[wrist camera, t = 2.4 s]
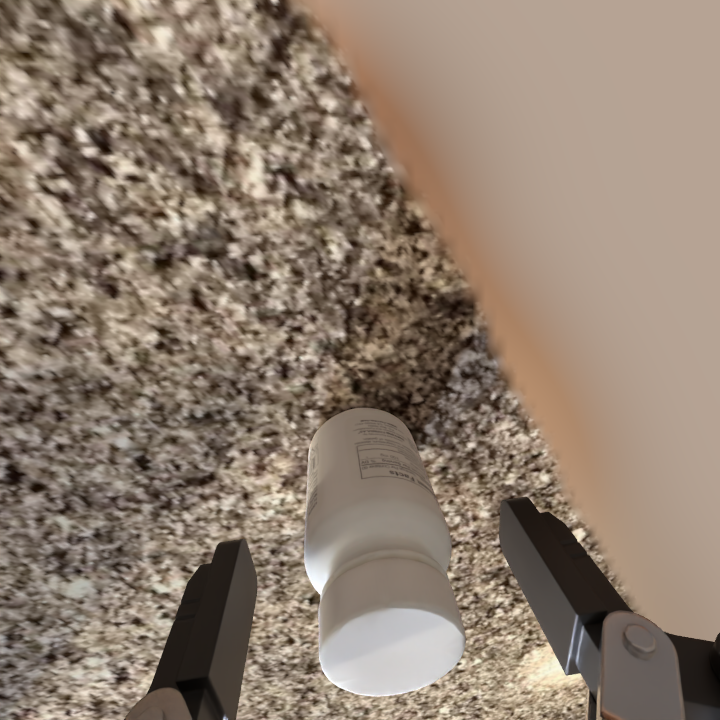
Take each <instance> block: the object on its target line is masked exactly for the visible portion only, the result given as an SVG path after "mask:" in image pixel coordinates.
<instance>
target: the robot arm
mask: <svg viewBox="0 0 720 720" xmlns="http://www.w3.org/2000/svg"><path fill="white" fill-rule="evenodd" d="M499 540H500V545H501V548H502V551H503V554H504V556H505V558H506V560H507V562H508V564H509V566H510V568H511V570H512V572H513V574H514V576H515V578H516V580H517V582H518V584H519V585H520V587H521V589H522V591H523V593H524V595H525V597H526V599H527V601H528V603H529V605H530V607H531V609H532V610H533V612H534V614H535V616H536V618H537V620H538V622H539V624H540V626H541V628H542V630H543V632H544V634H545V636H546V637H547V639H548V641H549V643H550V645H551V647H552V649H553V651H554V653H555V655H556V657H557V659H558V661H559V663H560V664H561V666H562V668H563V670H564V672H565V674H566V675H572V674H578V673H581V675H582V677H583V678H584V680H585V682H586V684H587V686H588V691H587V705H586V720H720V633H719V634H718V635H717V638H716V640H715V642H711V641H706V640H700V639H694V638H688V637H682V636H677V635H673V634H669V633H666V632H663V631H662V630H661V629H660V628H659V627H658V626H657V625H656V624H654V623H653V622H652V621H650V620H648V619H647V618H645V617H643V616H641V615H639V614H636V613H634V612H633V611H632V610H631V609H630V608H629V607H628V606H627V605H626V603H625V602H624V601H623V599H622V598H621V597H620V595H619V594H618V593H617V591H616V590H615V589H614V588H613V586H612V585H611V584H610V582H609V581H608V580H607V578H606V577H605V576H604V574H603V573H602V572H601V570H600V569H599V568H598V567H597V565H596V564H595V563H594V561H593V560H592V559H591V557H590V556H588V555H587V552H586V551H585V549H584V548H583V547H582V546H581V544H580V543H578V542H577V539H576V538H575V536H574V535H573V534H572V532H571V531H570V530H569V528H568V527H567V526H566V525H565V524H564V523H563V522H562V521H560V520H559V519H558V518H556V517H555V516H554V515H552V514H551V513H549V512H544V513H539V512H538V510H537V509H536V507H535V506H534V504H533V503H532V502H531V500H530V499H529V498H527V497H520V498H514V499H507V500H502V502H501V508H500V527H499ZM256 596H257V575H256V571H255V567H254V564H253V561H252V558H251V554H250V551H249V548H248V545H247V542H246V540H245V539H240V540H233V541H227V542H220V543H219V544H218V545H217V547H216V550H215V553H214V557H213V560H212V563H210V564H203V565H200V567H199V568H198V569H197V571H196V572H195V573H194V575H193V576H192V577H191V579H190V580H189V581H188V583H187V586H186V589H185V592H184V595H183V597H182V600H181V605H180V606H179V609H178V611H177V614H176V617H175V618H176V620H175V621H174V623H173V625H172V628H171V631H170V634H169V637H168V639H167V642H166V645H165V648H164V651H163V653H162V656H161V659H160V662H159V665H158V667H157V670H156V673H155V676H154V679H153V681H152V684H151V686H150V689H149V691H148V693H147V694H146V696H145V697H143V698H142V699H141V700H140V701H139V702H138V703H136V705H135V706H134V707H133V708H132V709H131V710H130V712H129V713H128V714H127V715H126V717H125V719H124V720H236V715H237V709H238V703H239V697H240V691H241V685H242V679H243V674H244V668H245V662H246V656H247V650H248V644H249V638H250V632H251V626H252V620H253V614H254V608H255V602H256Z"/></svg>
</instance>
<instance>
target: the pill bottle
mask: <svg viewBox="0 0 720 720" xmlns="http://www.w3.org/2000/svg"><path fill="white" fill-rule="evenodd" d="M451 550H452V546H451V537H450V533H449V530H448V526H447V523H446V521H445V518H444V515H443V513H442V511H441V508H440V506H439V503H438V501H437V499H436V496H435V494H434V491H433V489H432V486H431V483H430V481H429V478H428V476H427V473H426V470H425V468H424V465H423V462H422V460H421V457H420V455H419V452H418V450H417V447H416V444H415V442H414V440H413V437H412V435H411V433H410V431H409V430H408V428H407V427H406V426H405V424H404V423H403V422H402V421H401V420H399V419H398V418H397V417H395V416H394V415H392V414H390V413H388V412H385V411H382V410H379V409H374V408H354V409H350V410H347V411H344V412H341V413H339V414H337V415H335V416H333V417H332V418H330V419H329V420H328V421H326V422H325V423H324V424H323V425H322V426H321V427H320V428H319V429H318V430H317V432H316V433H315V435H314V437H313V439H312V442H311V445H310V448H309V457H308V479H307V499H306V518H305V539H304V563H305V568H306V572H307V574H308V577H309V579H310V581H311V583H312V585H313V586H314V588H315V589H316V590H317V591H318V592H319V593H320V594H321V596H320V605H319V609H318V622H319V661H320V664H321V667H322V670H323V671H324V673H325V675H326V676H327V677H328V679H329V680H330V681H331V682H333V683H334V684H335V685H336V686H338V687H340V688H342V689H344V690H347V691H349V692H352V693H355V694H360V695H366V696H390V695H396V694H400V693H407V692H410V691H413V690H418V689H420V688H422V687H424V686H427V685H430V684H432V683H433V682H435V681H437V680H438V679H440V678H441V677H442V676H444V675H445V674H446V673H447V672H449V671H450V670H451V669H452V668H453V667H454V666H455V665H456V664H457V663H458V661H459V660H460V658H461V656H462V654H463V652H464V649H465V643H466V637H465V630H464V626H463V623H462V619H461V616H460V612H459V609H458V606H457V602H456V599H455V596H454V592H453V589H452V587H451V585H450V582H449V579H448V576H447V573H446V570H447V568H448V565H449V562H450V558H451Z"/></svg>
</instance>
